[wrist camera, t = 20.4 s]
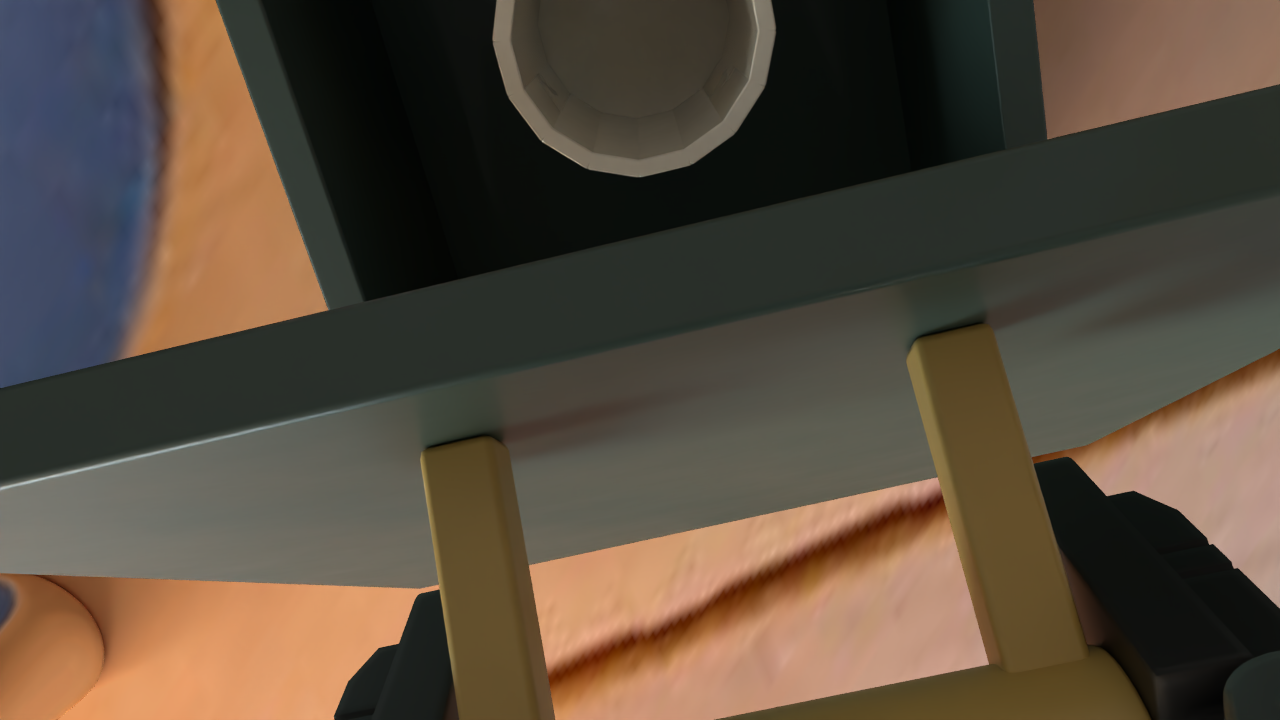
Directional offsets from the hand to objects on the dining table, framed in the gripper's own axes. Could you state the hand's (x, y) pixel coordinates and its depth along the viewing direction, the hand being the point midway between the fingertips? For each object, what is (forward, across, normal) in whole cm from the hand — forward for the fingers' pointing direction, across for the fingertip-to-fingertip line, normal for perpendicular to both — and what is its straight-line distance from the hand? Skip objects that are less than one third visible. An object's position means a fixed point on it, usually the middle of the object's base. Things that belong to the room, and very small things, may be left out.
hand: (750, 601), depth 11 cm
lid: (+5, 0, 0) cm, 5 cm away
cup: (+21, 0, -6) cm, 22 cm away
